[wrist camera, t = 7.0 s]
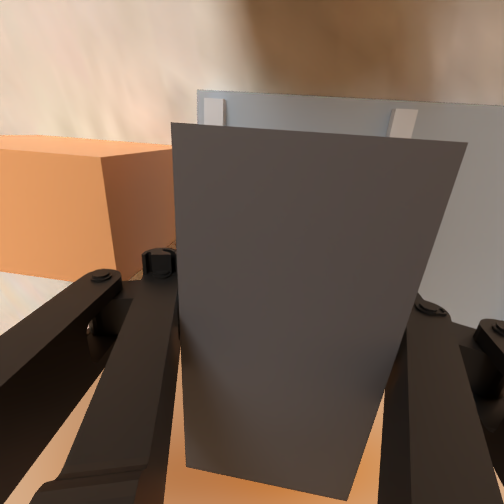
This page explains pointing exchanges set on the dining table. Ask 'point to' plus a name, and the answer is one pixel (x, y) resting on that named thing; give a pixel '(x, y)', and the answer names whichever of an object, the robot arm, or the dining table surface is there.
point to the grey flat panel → (414, 127)
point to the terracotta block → (82, 205)
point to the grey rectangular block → (297, 291)
